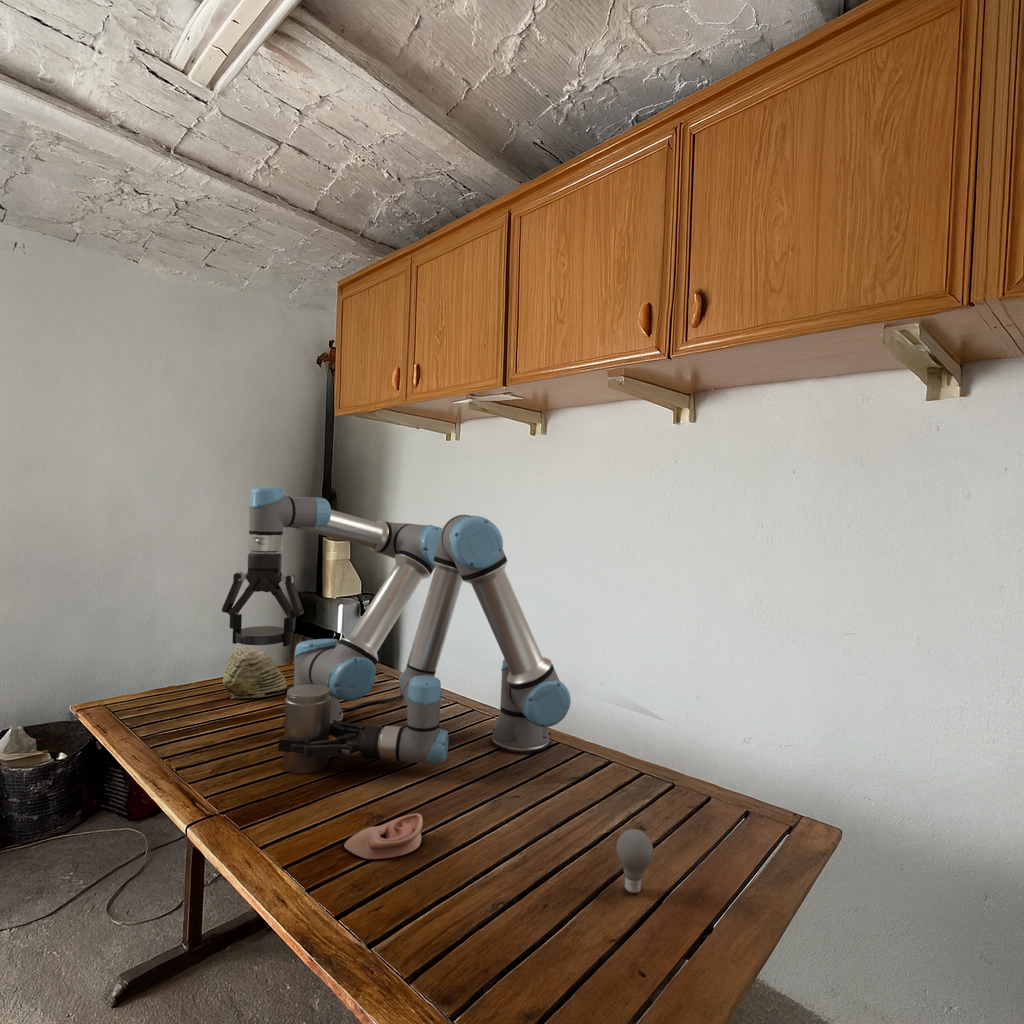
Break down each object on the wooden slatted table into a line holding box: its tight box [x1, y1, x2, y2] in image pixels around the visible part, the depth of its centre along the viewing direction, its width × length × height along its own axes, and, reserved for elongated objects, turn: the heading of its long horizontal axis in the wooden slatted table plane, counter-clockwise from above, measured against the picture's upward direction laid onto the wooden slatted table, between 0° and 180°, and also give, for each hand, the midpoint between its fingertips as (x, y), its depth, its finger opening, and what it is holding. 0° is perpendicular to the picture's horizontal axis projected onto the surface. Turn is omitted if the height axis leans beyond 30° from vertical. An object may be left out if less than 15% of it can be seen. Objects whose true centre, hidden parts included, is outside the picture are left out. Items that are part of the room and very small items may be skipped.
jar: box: [282, 684, 331, 775], centre depth 149 cm, size 10×10×18 cm
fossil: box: [222, 646, 288, 699], centre depth 198 cm, size 9×18×15 cm, turn 132°
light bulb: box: [615, 828, 654, 894], centre depth 106 cm, size 6×6×10 cm
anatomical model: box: [343, 813, 424, 860], centre depth 117 cm, size 13×4×12 cm
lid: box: [235, 625, 284, 646], centre depth 150 cm, size 12×12×2 cm
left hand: (261, 643), depth 151 cm, fingers closed on lid, 11 cm apart
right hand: (289, 735), depth 150 cm, fingers closed on jar, 10 cm apart
